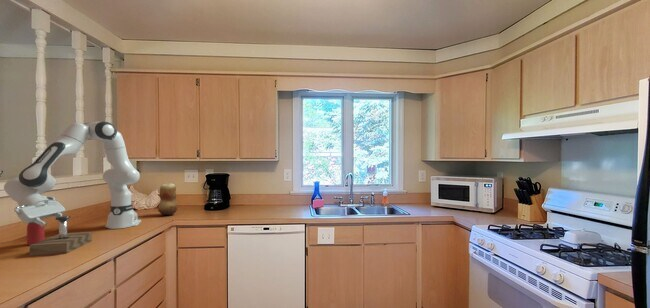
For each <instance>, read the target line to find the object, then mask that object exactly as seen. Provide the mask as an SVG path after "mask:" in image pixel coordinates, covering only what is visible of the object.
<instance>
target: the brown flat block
mask: <svg viewBox="0 0 650 308" xmlns="http://www.w3.org/2000/svg"><path fill="white" fill-rule="evenodd" d="M92 239H93V233H92V231H86V232H83V231H82V232H67V238H66V239H59V233H58V234H55V235H53V236H51V237H47V238H45V240H42V241H39V242H37V243H34V244H32V245H29V256H30V257H35V256H45V255H46V256H48V255H60V254H61V255H62V254H68V253H71V252H72V251H74V250H76V249H78V248H80V247H83V246H84V245H86V244H88V243H91V242H92V241H93V240H92Z"/></svg>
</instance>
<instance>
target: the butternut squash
mask: <svg viewBox="0 0 650 308" xmlns="http://www.w3.org/2000/svg"><path fill="white" fill-rule="evenodd" d="M159 197H160V198H159V199H160V201H159V204H158V206H157V210H158V212H159V213H160V214H162V215H164V216H170V215H171V216H172V214H176V212H177V210H178V207H179V204H178V200H177V186H176V185H175V184H174V183H172V182H171V183H170V182H169V183H165V184H164V183H163V184H162V185H160V187H159Z"/></svg>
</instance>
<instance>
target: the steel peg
mask: <svg viewBox="0 0 650 308" xmlns="http://www.w3.org/2000/svg"><path fill="white" fill-rule="evenodd" d="M69 219H71V215H62V216H59V217H56V216H55V220H56V221H58V220H59V221H58V234H59V239H66V238H67V233H68V220H69Z"/></svg>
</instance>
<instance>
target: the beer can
mask: <svg viewBox="0 0 650 308" xmlns="http://www.w3.org/2000/svg"><path fill="white" fill-rule="evenodd" d="M41 220H42V221H44V219H41ZM45 227H46V225H45V226H41V225H40V224H37V223H34V222H28V223H27V226H26V245H27V246H30V245H32V244H34V243H37V242H39V241H42V240H45V239H46V238H45V229H46V228H45Z"/></svg>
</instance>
